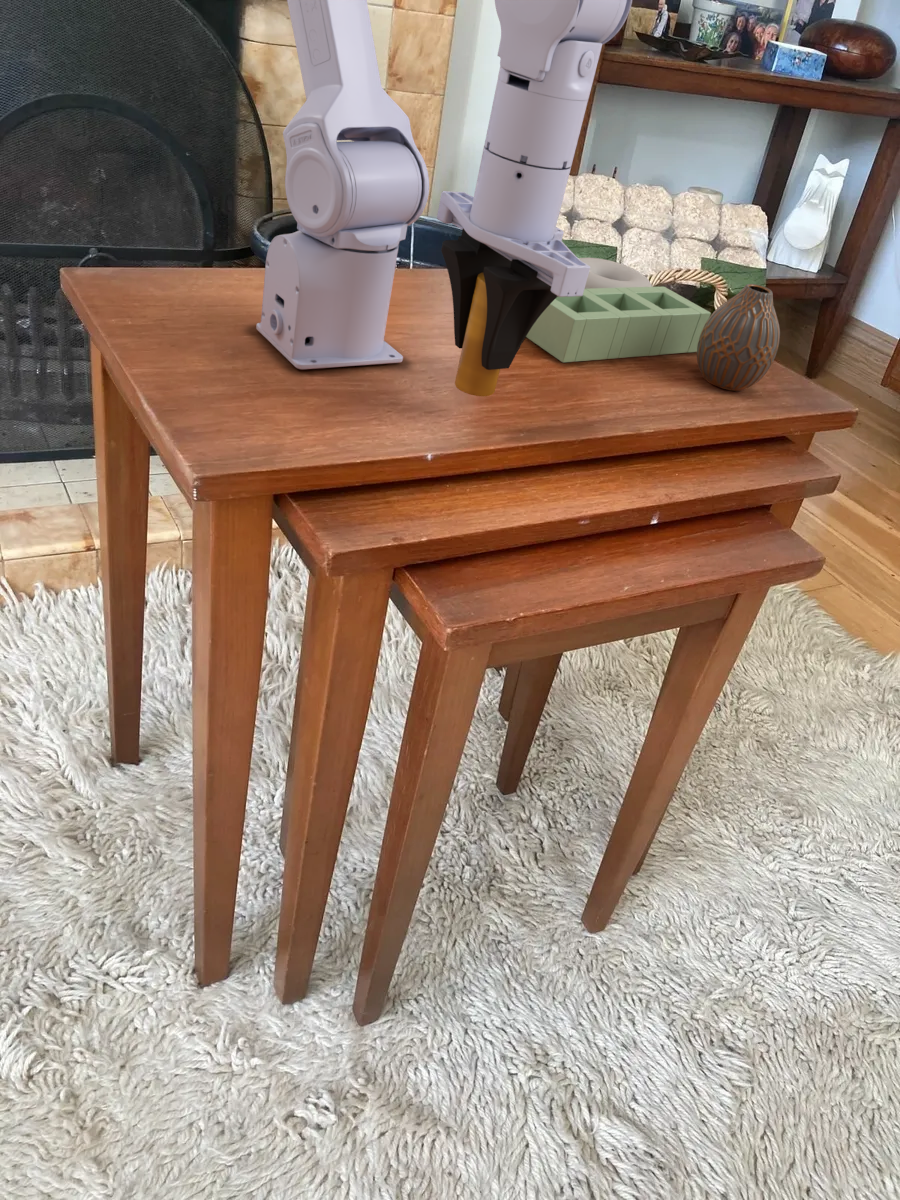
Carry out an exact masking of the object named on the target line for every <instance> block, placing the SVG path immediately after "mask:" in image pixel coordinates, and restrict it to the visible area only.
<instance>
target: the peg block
mask: <svg viewBox="0 0 900 1200" xmlns="http://www.w3.org/2000/svg"><path fill="white" fill-rule="evenodd" d="M711 315H712V313H711V312H710V311H709V310H707V309H705V308H703V307H701V306H700V305H698V304H697V303H694V302H692V301H691V300H689V299H687V298H685V297H684V296H682V295H680V294H678V293H677V292H675V291H673V290H671V289H669V288H667V287H666V286H652V287H623V288H590V289H584V292H583V296H572V297H567V296H566V297H559V296H558V297H557V298H556V299H555V300H554V301H553V302H552V303H551V304H550V305H549V306H548V307H547V308H546V309H545V310H544V312H543V313H542V314H541V315H540V317H539V318H538V319H537V320H536V322H535V323H534V325H533V326H532V328H531V329H530V331H529V332H528V334H527V336H526V337H525V338H526V339H528V340H529V341H530V342H532V343H534V344H536V345H537V346H538V347H540V348H541V349H542V350H544V351H545V352H547V353H548V354H550V355H551V356H553V357H554V359H557V360H558V361H559V362H561V363H564V364H565V363H573V362H574V363H575V362H576V363H577V362H588V361H602V360H614V359H626V358H639V357H650V356H652V357H653V356H663V355H676V354H686V353H687V354H689V353H697V346H698V341H699V338H700V334H701V332H702V329H703V327H704V325H705V323H706V322H707V320H708V319H709V317H710V316H711Z"/></svg>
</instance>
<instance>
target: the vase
mask: <svg viewBox="0 0 900 1200" xmlns="http://www.w3.org/2000/svg"><path fill="white" fill-rule="evenodd" d="M773 295H774V294H773V291H772V289H770V288H768V287H766V286H762V285H761V284H755V283H747V284H745V285H744V286H743V288H742V289H741V290H740V291H738V293H737V294H735V295H734V296H732V297H731V298H729V299H728V300H726V301H725V302H724V303H722V304H721V305H719V306H718V307H717V308H716V309H715V310H714V311H713V312H712V313H711V314H710V317H709V319H708V320H707V322H706V323H705V325H704V327H703V329H702V332H701V334H700V338H699V341H698V346H697V352H696V363H697V367H698V369H699V372H700V374H701V376H702V378H703V379H704V380H705V381H706V382H708V383H709V384H711V385H712V386H715V387H718V388H720V389H723V390H726V391H732V392H733V391H735V392H740V391H744V390H746V389H748V388H751V387H752V386H754V385H756V384H757V383H759V382H760V381H761V380H762V379H763V378H764V376H765V375H766V374H767V373H768V372H769V370H770V368H771V367H772V366H773V363H774V361H775V358H776V356H777V353H778V350H779V346H780V339H781V337H780V336H781V329H780V324H779V319H778V316H777V312H776V309H775V306H774V296H773Z"/></svg>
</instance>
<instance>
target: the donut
mask: <svg viewBox="0 0 900 1200" xmlns="http://www.w3.org/2000/svg"><path fill="white" fill-rule="evenodd" d="M578 258H579V259H580V260H581V261H582V262H584V263H586V264H587V265H589V266H590V271H589V274H588V278H587V281H586V285H585V288H584V289H590V288H623V287H653V285H652V283H651V282H650V280H649V278H648V277H647V276H646V275H644V274H643V273H642V272H640V271H639V270H637V269H635V268H633V267H631V266H628V265H626V264H623V263H620V262H616V261H613V260H609V259H605V258H599V257H578Z"/></svg>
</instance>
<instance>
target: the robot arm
mask: <svg viewBox="0 0 900 1200" xmlns="http://www.w3.org/2000/svg"><path fill="white" fill-rule="evenodd" d="M286 2H287V6H288V13H289V18H290V22H291V27H292V32H293V39H294V42H295V48H296V54H297V58H298V63H299V68H300V73H301V78H302V83H303V89H304V94H305V99H306V100H305V101H304V102H303V104H302V105H301V107H300V108H299V110H298V111H297V112H296V113H295V115H293V117H292V118H291V120H289V122H288V123H287V125H285V128H284V129H283V131H282V137H283V141H284V147H285V153H286V167H285V178H284V187H285V196H286V201H287V204H288V207H289V210H290V212H291V213H292V214H291V215H292V216H293V218H294V220H295V222H296V229H297V231H295V232H294V231H293V232H292V233H283V234H279V235H276V236H274V237H273V238H272V240H271V241H270V243H269V246H268V249H267V252H266V257H265V268H264V279H263V291H262V303H261V315H260V322H258V323H256V327H255V329H256V330H257V331H258V332H259V334H261V335H262V336H263V338H265V339H266V340H267V341H268V342H269V343H270V344H271V345H272V346H273V347H274V348H275V349H276V350H277V351H278V352H279V353H280V354H281V355H282V356H283V357H284V358H285V359H287V361H289V362H290V363H291V365H293V366H294V367H295V368H296V369H297V370H315V369H330V368H342V367H343V368H344V367H355V366H356V367H357V366H372V365H385V364H399V363H403V360H404V356H403V355H402V354H401V353H400V352H398V351H397V350H396V349H395V348H394V347H393V346H391V345H390V344H389V343H388V342H386V341H385V334H386V330H387V323H388V317H389V309H390V303H391V298H392V297H391V296H392V290H393V285H394V280H395V279H394V278H395V271H396V266H397V259H398V255H399V254H398V253H399V246H400V242H402V241H405V240H406V236H407V231H408V226H410V225H413V224H414V223H415V222H417V221H418V220H419V218H420V217H421V216H422V214H423V213H424V211H425V208H426V206H427V203H428V199H429V195H430V177H429V171H428V168H427V164H426V162H425V159H424V157H423V155H422V154H421V152H420V151H419V149H418V147H417V145H416V143H415V141H414V136H413V133H412V127H411V121H410V118H409V116H408V115H407V114H406V113H405V111H404V110H403V109H402V108H401V107H400V105H398V104H397V102H396V101H395V100H393V98H392V97H391V96H390V95H389V94H388V93H387V91H386V90H385V89H384V87H383V86H382V82H381V81H382V80H381V76H380V70H379V64H378V58H377V57H378V56H377V52H376V47H375V40H374V35H373V30H372V29H373V28H372V22H371V18H370V12H369V5H368V0H286ZM632 4H633V0H494V6H495V11H496V14H497V18H498V20H499V25H500V40H499V46H498V50H497V57H499V58H500V60H499V71H498V75H497V81H496V86H495V91H494V96H493V99H492V100H493V101H492V106H491V110H490V111H491V112H490V116H489V121H488V126H487V130H486V135H485V141H484V145H483V149H482V154H481V157H480V158H481V159H480V164H479V169H478V174H477V179H476V182H475V183H476V184H475V189H474V194H473V196H472V195H470V194H468V193H467V192H465V191H451V190H450V191H449V190H442V191H441V193H440V199H439V204H438V210H437V214H436V216H437V217H436V219H437V220H438V221H440V222H441V223H443V224H447V225H449V224H452V225H453V226H454V227H457V228H458V229H460V230H461V235H459V236H458V237H457V239H446V240H444V241H442V244H441V255H442V257H443V259H444V263H445V266H446V269H447V273H448V278H449V284H450V288H451V289H450V290H451V296H452V297H451V298H452V308H453V309H452V310H453V333H454V334H453V335H454V345H455V346H456V347H457V348H458V349H462V346H463V342H464V337H465V332H466V328H467V323H468V318H469V314H470V309H471V304H472V300H473V295H474V290H475V286H476V281H477V276H478V274H480V273H483V274H484V279H485V285H486V293H487V321H486V328H485V334H484V340H483V347H482V366H483V367H484V368H485V369H487V370H494V369H500V370H504V369H509V368H510V367H511V365H512V363H513V361H514V359H515V358H516V356H517V354H518V352H519V350H520V348H521V346H522V345H523V343H524V341H525V339H526V338H527V337H526V336H527V334H528V332H529V331H530V329H531V328H532V326H533V325H534V323H535V322H536V320H537V319H538V318H539V317H540V315H541V314H542V313H543V312H544V310H545V309H546V308H547V307H548V306H549V305H550V304H551V303H552V302H553V301H554V300H555V299H556V298H557V297H558V296H559V297H566V296H567V297H572V296H583V292H584V288H585V285H586V281H587V278H588V274H589V271H590V266H589V265H587V264H586V263H584V262H582V261H581V260H580V259H579V258H580V257H578V256H577V255H575V253H573V251H572V250H571V249H570V248H569V247H568V246H567V245H566V244H565V243H564V242H563V238H564V233H565V232H564V230H563V229H561V228H559V227H557V224H558V222H559V221H558V220H559V216H560V213H561V210H562V209H561V208H562V204H563V202H564V196H565V193H566V189H567V186H568V181H569V177H570V173H571V169H572V165H573V160H574V158H575V153H576V149H577V146H578V141H579V137H580V134H581V131H582V130H581V129H582V126H583V121H584V118H585V113H586V110H587V106H588V102H589V100H590V94H591V91H592V88H593V83H594V79H595V76H596V71H597V67H598V63H599V60H600V55H601V52H602V48H603V45H605V44H607V43H608V42H609V41H610V40H612V39H613V38H614V37H616V35H617V34H618V33H619V32H620V31H621V29H622V27H623V26H624V24H625V22H626V20H627V19H628V17H629V14H630V11H631V8H632Z"/></svg>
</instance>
